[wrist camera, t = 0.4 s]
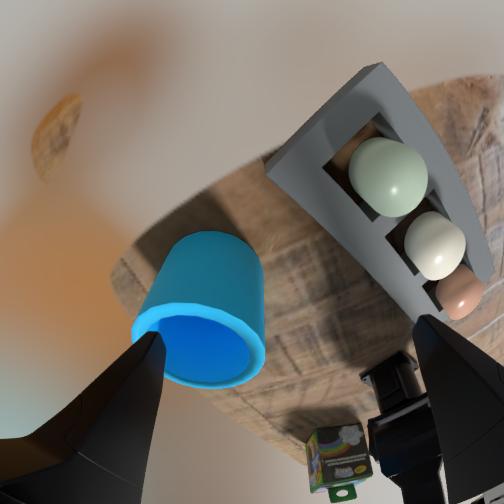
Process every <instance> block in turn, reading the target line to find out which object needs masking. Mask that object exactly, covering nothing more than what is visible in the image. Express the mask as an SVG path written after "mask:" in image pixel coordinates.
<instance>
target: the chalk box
mask: <svg viewBox="0 0 504 504" xmlns="http://www.w3.org/2000/svg"><path fill="white" fill-rule="evenodd" d="M305 446H306V455H307V464H308V473H309V483H310V492H311V493H319V492H325V491H328V493H329V498H330V501H331V503H337V502H342V501H348V500H352V499H356V498H357V494H356V491H355V488H354V486H355V485H357V484H359V483H361V482H363V481H365V480H366V479H368V478H369V477H371V476H372V475H373V471H372V466H371V461H370V456H369V452H368V447H367V443H366V438H365V434H364V430H363V426H362V423H360V424H356V425H349V426H341V427H331V428H319V429H316V430H315V431H314V433H313V434H312V436H311V437H310V439H309V440H308V442H307V444H306V445H305ZM340 490H347V491H348V495H347V496H343V497H339V496H337V495H336V493H337V492H338V491H340Z"/></svg>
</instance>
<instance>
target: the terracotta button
mask: <svg viewBox="0 0 504 504" xmlns="http://www.w3.org/2000/svg"><path fill="white" fill-rule="evenodd" d="M483 290H484V286H483V283H482V282H481V281H480V280H479V279H478V278H477V277H476V276H475V274H474V273H473V272H472V271H471V270H470V269H469V268H468V267H467V266H466V265H464V264H459V265H458V266H457V267H456V269H455V270H454V271H453V272H452V273H450V274H449V275H448V276H446V277H444V278H442V279H440V281H439V283H438V285H437V287H436V293H435V294H436V298H437V300H438V301H439V303H440V304H441V305H442V307H443V308H444V310H445V311H446V313H447V314H448V316H449V317H450V318H451V319H453V320H458V319H461V318H463V317H465V316H466V315H468V314H469V313H470V312H471V311H472V310H473V309H474V308H475V307H476V306H477V304H478V303H479V301H480V299H481V297H482V295H483Z"/></svg>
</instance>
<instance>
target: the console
mask: <svg viewBox="0 0 504 504" xmlns="http://www.w3.org/2000/svg"><path fill="white" fill-rule="evenodd" d="M369 121H371V122H372V123H373V124H374V126H375V127H376V128H377V129H378V130H379V132H380V133H381V134H382V135H383V137H384V138H387V139H390V140H393V141H396V142H399V143H402V144H405V145H408V146H410V147H412V148H414V149H415V150H416V151H417V152H418V153H419V154H420V155H421V157H422V158H423V160H424V162H425V165H426V168H427V173H428V183H427V188H426V192H425V194H424V197H423V198H422V200H423V199H424V198H425V197H426V198H427V199H428V201H429V203H430V204H431V206H432V208H433V209H434V211H435V212H438V213H440V214H441V215H443V216H444V217H445V218H446V219H448V220H449V221H450V222H452V223H453V224H454V225H455V226H457V227H458V228H459V229H460V230H461V231H462V232H463V234H464V236H465V241H466V246H465V251H464V255H463V257H462V260H461V261H460V263H459V264H464V265H466V266H467V267H468V268H469V269H470V270H471V271H472V272H473V273H474V274H475V276H476V277H477V278H478V279H479V280H480V281H481V282H482V283H483V285H484V284H485V283H486V282H487V281H488V280H489V279H490V278H491V276H492V275H493V274H494V273H495V272H496V271H495V267H494V264H493V260H492V257H491V253H490V250H489V247H488V244H487V241H486V238H485V235H484V232H483V229H482V226H481V224H480V221H479V218H478V216H477V213H476V211H475V208H474V206H473V203H472V201H471V199H470V196H469V194H468V192H467V190H466V188H465V185H464V183H463V181H462V179H461V177H460V175H459V173H458V171H457V169H456V167H455V165H454V163H453V162H452V160H451V158H450V156H449V154H448V152H447V151H446V149H445V147H444V145H443V144H442V142H441V140H440V139H439V137H438V135H437V134H436V132H435V131H434V129H433V127H432V126H431V124H430V123H429V121H428V120H427V118H426V117H425V115H424V114H423V112H422V111H421V110H420V108H419V107H418V105H417V104H416V103H415V101H414V100H413V99H412V97H411V96H410V95H409V93H408V92H407V91H406V89H405V88H404V87H403V86H402V84H401V83H400V82H399V81H398V79H397V78H396V77H395V76H394V75H393V73H392V72H391V71H390V70H389V69H388V68H387V66H386V65H385V64H384V63H383V62H380V63H377V64H373V65H370V66H366V67H364V68H363V69H361V70H360V71H359V72H358V73H357V74H356V75H355V76H354V77H353V78H352V79H351V80H349V81H348V82H347V83H346V84H345V85H344V86H343V87H342V88H341V89H340V90H339V91H338V92H337V93H335V94H334V95H333V96H332V97H331V98H330V99H329V100H328V101H327V102H326V103H325V104H324V105H323V106H322V107H321V108H320V109H319V110H318V111H317V112H316V113H315V114H314V115H313V116H312V117H311V118H310V119H309V120H308V121H307V122H306V123H304V125H302V127H300V129H299V130H298V131H297V132H296V133H295V134H294V135H293V136H292V137H291V138H290V139H289V140H288V141H287V142H286V143H285V144H284V145H283V146H282V147H281V148H280V149H279V150H278V151H277V152H276V153H275V154H274V155H273V156H272V157H271V158H270V159H269V160H268V161H267V162H266V164H265V172H266V176H268V177H269V178H270V179H271V180H272V181H273V182H274V183H276V184H277V185H278V186H279V187H280V188H281V189H282V190H283V191H285V192H286V193H287V194H288V195H289V196H290V197H291V198H292V199H293V200H295V201H296V202H297V203H298V204H299V205H300V206H301V207H302V208H303V209H304V210H305V211H307V212H308V213H309V214H310V215H311V216H312V217H313V218H314V219H315V220H316V221H317V222H318V223H319V224H320V225H321V226H322V227H324V228H325V229H326V230H327V231H328V232H329V233H330V234H331V235H332V236H333V237H334V238H335V239H336V240H337V241H338V242H339V243H340V244H341V245H342V246H343V247H344V248H345V249H346V250H347V251H348V252H349V253H350V254H351V255H352V256H353V257H354V258H355V259H356V260H357V261H358V262H359V263H360V264H361V265H362V266H363V267H364V268H365V269H366V270H367V271H368V272H369V274H370V275H371V276H372V277H373V278H374V279H375V280H376V281H377V282H378V283H379V284H380V285H381V286H382V287H383V288H384V290H385V291H386V292H387V293H388V294H389V295H390V296H391V297H392V298H393V299H394V300H395V302H396V303H397V304H398V305H399V306H400V307H401V308H402V309H403V311H404V312H405V313H406V314H407V315H408V316H409V317H410V319H411V320H412V321H413V322H414V323H415V324H416V322H417V319H418V317H419V316H420V315H423V314H431V315H433V316H434V317H436V318H437V319H438V320H440V321H441V322H444V321H445V320H447V319H448V318H449V316H448V314H447V313H446V311H445V310H444V308H443V307H442V305H441V304H440V303H439V301H438V300H437V298H436V294H435V293H436V287H437V285H438V283H439V282H438V283H437V284H436V285H435V286H434V287H433V288H432V289H431V290H429V291H428V292H427V293H426V292H425V290H424V289H423V288H422V285H423V284H424V283H425V282H427V281H428V280H429V279H427V278H425V277H424V276H423V274H422V273H421V272H420V271H419V269H418V268H417V267H416V265H415V264H414V263H413V262H412V261H411V259H410V258H409V257H408V256H407V254H406V252H404V253H403V254H402V255H401V256H399V255H398V254H397V252H396V251H395V250H394V249H393V247H392V246H391V245H390V244H389V242H388V241H387V240H386V239H385V236H386V235H387V234H388V233H389V232H390V231H391V230H392V229H393V228H394V227H395V226H396V225H397V224H398V223H400V222H401V221H402V220H403V219H404V218H405V217H406V216H407V215H408V214H409V213H410V212H409V213H407V214H406V215H403V216H399V217H387V216H384V215H381V214H379V213H378V212H376V211H375V210H374V209H373V208H372V207H371V206H370V205H369V204H368V203H367V202H366V201H365V200H363V201H362V202H361V203H360V204H359V205H358V206H357V205H356V203H355V202H354V201H353V200H352V199H351V198H350V197H349V196H348V195H347V194H346V193H345V191H344V190H343V189H342V188H341V187H340V186H339V185H338V184H337V183H336V182H335V181H334V180H333V179H332V178H331V177H330V176H329V175H328V174H327V173H326V172H325V171H324V170H323V169H322V167H323V166H324V165H325V164H326V163H327V162H328V161H329V160H330V159H331V158H332V157H333V156H334V155H335V154H336V153H337V152H338V151H339V150H340V149H341V148H342V147H343V146H344V145H345V144H346V143H347V142H348V141H349V140H350V139H351V138H352V137H353V136H354V135H355V134H356V133H357V132H358V131H359V130H361V129H362V128H363V127H364V126H365V125H366V124H367V123H368V122H369ZM422 200H421V201H422Z"/></svg>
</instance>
